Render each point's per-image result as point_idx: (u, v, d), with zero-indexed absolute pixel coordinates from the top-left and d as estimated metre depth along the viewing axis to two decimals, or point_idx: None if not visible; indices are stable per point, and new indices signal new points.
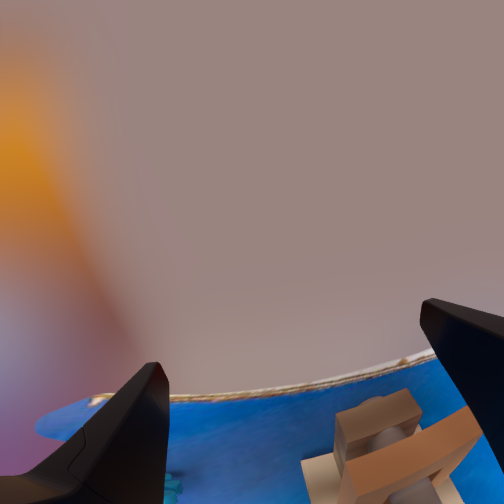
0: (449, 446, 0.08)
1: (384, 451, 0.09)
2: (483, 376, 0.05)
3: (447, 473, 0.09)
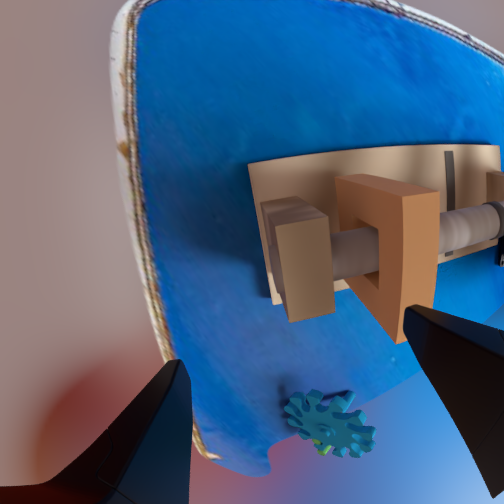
0: (432, 244, 0.10)
1: (403, 312, 0.11)
2: (465, 387, 0.05)
3: None
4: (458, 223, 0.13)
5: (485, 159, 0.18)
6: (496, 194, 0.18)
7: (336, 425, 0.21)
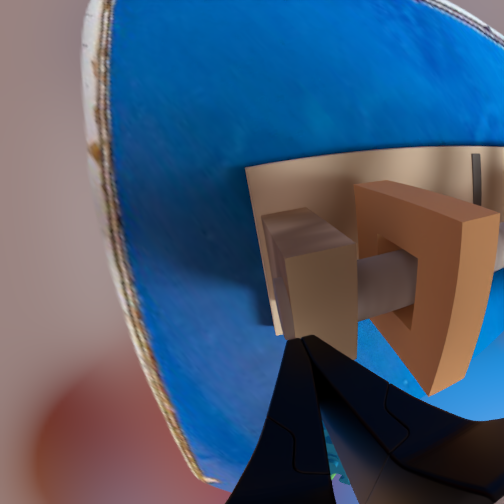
0: (486, 281, 0.07)
1: (443, 362, 0.08)
2: (344, 441, 0.05)
3: None
4: (498, 243, 0.10)
5: None
6: None
7: None
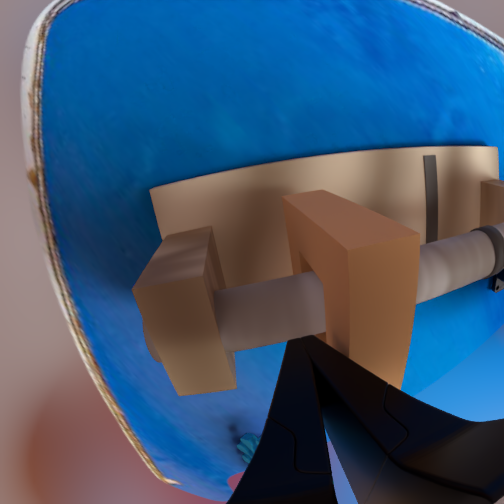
0: (403, 316, 0.07)
1: None
2: (343, 441, 0.05)
3: None
4: (431, 267, 0.10)
5: (479, 164, 0.14)
6: (492, 210, 0.14)
7: None
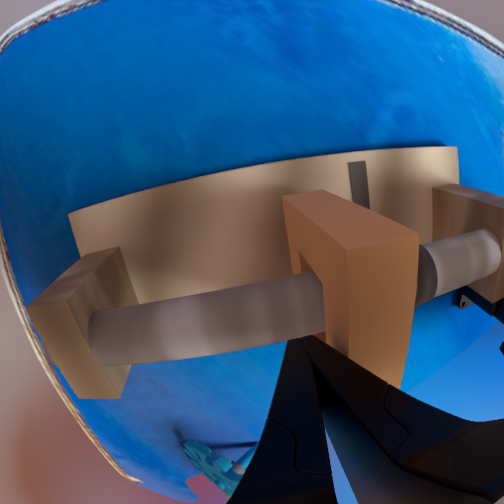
0: (403, 315, 0.07)
1: None
2: (343, 441, 0.05)
3: None
4: (309, 299, 0.10)
5: (430, 168, 0.14)
6: (445, 220, 0.14)
7: (227, 481, 0.18)
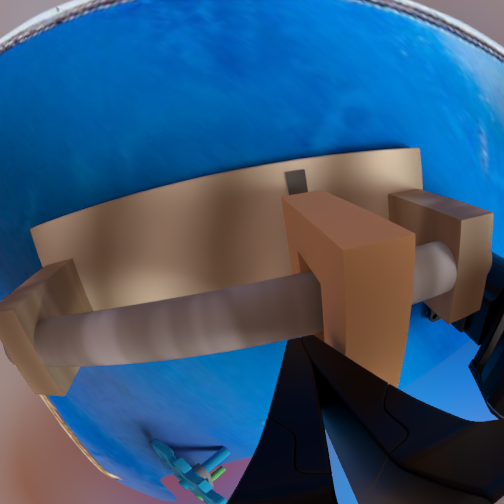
0: (399, 315, 0.07)
1: None
2: (343, 441, 0.05)
3: None
4: (209, 319, 0.10)
5: (385, 173, 0.14)
6: None
7: (189, 482, 0.18)
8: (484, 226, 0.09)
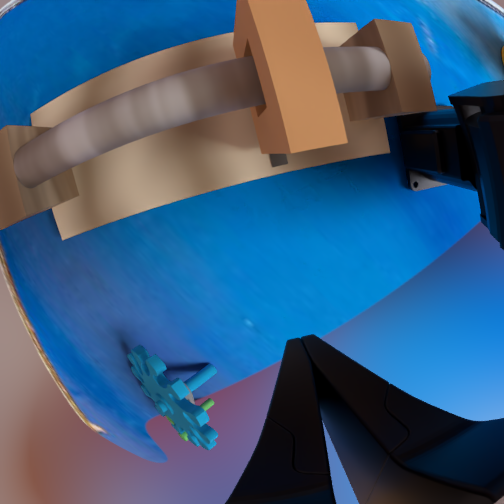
0: (302, 17, 0.07)
1: (284, 97, 0.08)
2: (344, 441, 0.05)
3: None
4: (162, 82, 0.10)
5: (326, 38, 0.14)
6: None
7: (165, 396, 0.18)
8: (404, 30, 0.09)
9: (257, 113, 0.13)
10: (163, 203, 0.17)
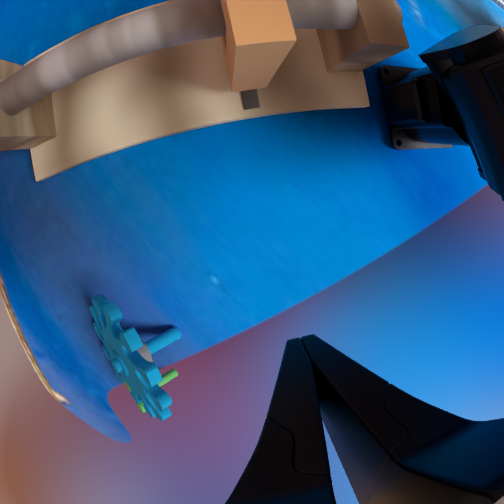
0: None
1: (233, 2, 0.07)
2: (344, 441, 0.05)
3: None
4: (135, 13, 0.08)
5: None
6: None
7: (120, 352, 0.17)
8: None
9: (225, 48, 0.12)
10: (133, 142, 0.16)
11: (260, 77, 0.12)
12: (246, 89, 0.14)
